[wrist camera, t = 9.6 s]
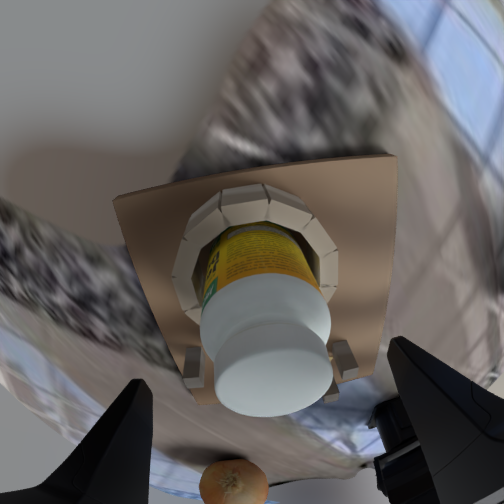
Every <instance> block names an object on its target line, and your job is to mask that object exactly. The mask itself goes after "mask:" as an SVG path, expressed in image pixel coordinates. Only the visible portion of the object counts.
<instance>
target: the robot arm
mask: <svg viewBox="0 0 504 504" xmlns="http://www.w3.org/2000/svg"><path fill="white" fill-rule="evenodd" d="M387 358H388V361H389V364H390V367H391V370H392V373H393V377H394V380H395V383H396V386H397V389H398V392H399V395H400V397H399V398H396V399H394V400H391V401H388V402H385V403H382V404H379V405H377V406H376V407H375V409H374V412H373V414H372V417H371V419H370V422H369V424H368V428H369V429H372V428H375V427H377V429H378V431H379V434H380V437H381V439H382V442H383V445H384V448H385V450H386V453H384V454H382V455H380V456H377V457H375V458H374V461H373V463H374V466H375V470H376V475H377V488H378V490H380V491H382V492H383V494H384V495H385V496H386V497H388V498H389V502H390V503H391V504H504V399H502V398H500V397H498V396H496V395H494V394H493V393H491V392H489V391H487V390H486V389H484V388H482V387H481V386H479V385H477V384H476V383H474V382H473V381H471V380H470V379H468V378H467V377H465V376H464V375H462V374H460V373H459V372H457V371H456V370H454V369H453V368H451V367H450V366H448V365H447V364H445V363H444V362H442V361H440V360H439V359H437V358H436V357H434V356H433V355H431V354H430V353H428V352H426V351H425V350H423V349H422V348H420V347H419V346H417V345H416V344H414V343H412V342H411V341H409V340H408V339H406V338H405V337H403V336H398V337H394V338H392V339H391V341H390V344H389V348H388V352H387ZM152 437H153V395H152V392H151V390H150V388H149V387H148V385H147V384H146V382H145V381H144V380H143V379H132V380H131V381H130V382H129V383H128V385H127V386H126V387H125V388H124V389H123V391H122V392H121V393H120V394H119V395H118V397H117V398H116V399H115V400H114V402H113V403H112V404H111V405H110V406H109V408H108V409H107V410H106V411H105V413H104V414H103V415H102V416H101V417H100V419H99V420H98V421H97V422H96V424H95V425H94V426H93V427H92V429H91V430H90V431H89V432H88V433H87V435H86V436H85V437H84V438H83V440H82V441H81V443H79V444H78V446H77V447H76V448H75V449H74V451H73V452H72V453H71V454H70V455H69V456H68V458H67V459H66V460H65V461H64V462H63V463H62V464H61V465H60V466H59V467H58V468H57V469H56V470H55V471H54V472H53V473H52V474H51V475H50V476H49V477H48V478H47V479H46V480H45V481H44V482H42V483H41V484H39V485H37V486H35V487H32V488H27V489H23V490H17V491H11V492H5V493H0V504H148V495H149V475H150V460H151V448H152Z"/></svg>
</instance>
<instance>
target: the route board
mask: <svg viewBox="0 0 504 504" xmlns="http://www.w3.org/2000/svg"><path fill="white" fill-rule="evenodd" d="M397 187H398V166H397V156H395V155H392V154H375V155H360V156H347V157H335V158H325V159H315V160H306V161H297V162H289V163H282V164H274V165H267V166H260V167H254V168H248V169H241V170H235V171H230V172H224V173H218V174H213V175H208V176H202V177H197V178H192V179H187V180H183V181H178V182H173V183H169V184H164V185H160V186H156V187H151V188H147V189H143V190H139V191H135V192H131V193H127V194H124V195H119V196H117V197H116V198H115V199H114V200H113V204H114V208H115V211H116V215H117V218H118V221H119V224H120V227H121V230H122V233H123V236H124V239H125V242H126V245H127V248H128V251H129V254H130V257H131V259H132V262H133V265H134V268H135V270H136V273H137V275H138V278H139V281H140V283H141V286H142V288H143V291H144V293H145V296H146V298H147V301H148V303H149V305H150V308H151V310H152V312H153V315H154V317H155V319H156V322H157V324H158V326H159V328H160V331H161V333H162V335H163V337H164V339H165V341H166V344H167V346H168V348H169V350H170V352H171V354H172V356H173V358H174V360H175V362H176V364H177V366H178V368H179V370H180V372H181V374H182V376H183V377H182V379H183V381H184V383H185V385H186V386H187V388H189V389H190V391H191V393H192V395H193V396H194V398H195V400H196V402H197V404H198V405H207V404H220V403H221V402H220V401H219V399H218V398H217V396H216V393H215V387H214V362H213V361H212V360H211V359H210V358H209V356H208V355H207V353H206V352H205V350H204V347H203V345H202V342H201V337H200V319H201V311H202V303H203V295H204V288H205V282H206V274H207V267H208V259H209V253H210V248H211V245H212V243H213V241H214V239H215V238H216V236H218V235H219V234H220V233H221V232H223V231H224V230H225V229H226V228H228V227H229V226H235V225H241V224H247V223H253V222H259V221H265V220H267V221H270V222H273V223H276V224H279V225H281V226H284V227H286V228H287V229H288V230H289V231H290V232H291V233H292V234H293V236H294V237H295V239H296V241H297V243H298V245H299V247H300V249H301V251H302V253H303V255H304V257H305V259H306V261H307V263H308V265H309V267H310V270H311V272H312V274H313V276H314V278H315V280H316V282H317V284H318V286H319V288H320V290H321V293H322V295H323V297H324V299H325V301H326V303H327V306H328V309H329V312H330V317H331V329H330V335H329V338H328V341H327V343H326V348H327V352H328V356H329V359H330V363H331V366H332V369H333V379H332V383H331V385H330V387H329V389H328V390H327V391H326V393H325V394H324V395H323V396H322V397H323V401H324V404H325V403H329V402H333V401H337V400H338V398H339V390H338V387H337V385H336V384H339V383H343V382H347V381H351V380H354V379H358V378H362V377H365V376H369V375H372V374H373V371H374V367H375V363H376V359H377V354H378V350H379V345H380V341H381V336H382V331H383V326H384V320H385V315H386V309H387V303H388V296H389V289H390V282H391V274H392V266H393V256H394V246H395V233H396V217H397Z"/></svg>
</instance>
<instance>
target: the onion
mask: <svg viewBox="0 0 504 504" xmlns="http://www.w3.org/2000/svg"><path fill="white" fill-rule="evenodd" d="M268 489H269V488H268V482H267V478H266V475H265V473H264V472H263V471H262V470H261V469H260V468H259V467H258V466H257V465H255V464H254V463H252V462H250V461H248V460H244V459H236V460H226V461H217V462H215V463H213V464H211V465H210V466H209V467H207V468H206V469H205V470H204V472H203V474H202V477H201V480H200V484H199V490H200V495H201V498H202V500H203V501H204V503H205V504H264V502H265V501H266V499H267V495H268Z"/></svg>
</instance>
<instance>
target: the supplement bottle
mask: <svg viewBox="0 0 504 504" xmlns="http://www.w3.org/2000/svg"><path fill="white" fill-rule="evenodd" d="M330 329H331V317H330V312H329V309H328V306H327V303H326V301H325V299H324V297H323V295H322V293H321V290H320V288H319V286H318V284H317V282H316V280H315V278H314V276H313V274H312V272H311V270H310V267H309V265H308V263H307V261H306V259H305V257H304V255H303V253H302V251H301V249H300V247H299V245H298V243H297V241H296V239H295V237H294V236H293V234H292V233H291V232H290V231H289V230H288V229H287V228H286V227H284V226H281V225H279V224H276V223H273V222H270V221H267V220H265V221H259V222H253V223H247V224H241V225H235V226H229V227H228V228H226V229H225V230H224V231H223V232H221V233H220V234H219V235H218V236H216V238H215V239H214V241H213V243H212V245H211V248H210V253H209V259H208V267H207V274H206V282H205V288H204V295H203V303H202V311H201V319H200V337H201V342H202V345H203V347H204V350H205V352H206V353H207V355H208V356H209V358H210V359H211V360H212V361H213V362H214V387H215V393H216V396H217V398H218V399H219V401H220V402H221V403H222V404H223V405H224V406H226V407H227V408H229V409H230V410H232V411H234V412H237V413H239V414H243V415H247V416H255V417H275V416H282V415H286V414H290V413H293V412H296V411H299V410H301V409H304V408H306V407H308V406H310V405H312V404H313V403H314V402H316V401H317V400H319V399H320V398H321V397H322V396H323V395H324V394H325V393H326V391H327V390H328V389H329V387H330V385H331V383H332V379H333V369H332V366H331V363H330V359H329V356H328V352H327V348H326V343H327V341H328V338H329V335H330Z"/></svg>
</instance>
